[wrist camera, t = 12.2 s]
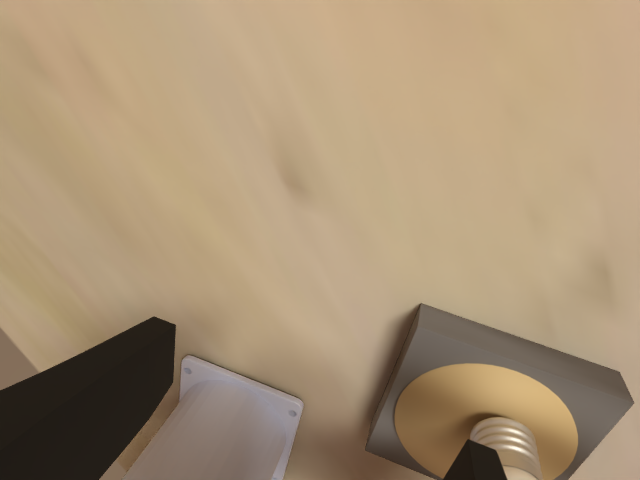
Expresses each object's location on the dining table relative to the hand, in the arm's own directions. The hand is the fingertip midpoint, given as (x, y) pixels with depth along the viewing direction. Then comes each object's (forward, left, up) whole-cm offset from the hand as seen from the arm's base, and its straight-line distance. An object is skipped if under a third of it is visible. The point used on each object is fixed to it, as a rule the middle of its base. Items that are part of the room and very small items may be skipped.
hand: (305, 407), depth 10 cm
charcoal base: (-8, -8, -10) cm, 15 cm away
